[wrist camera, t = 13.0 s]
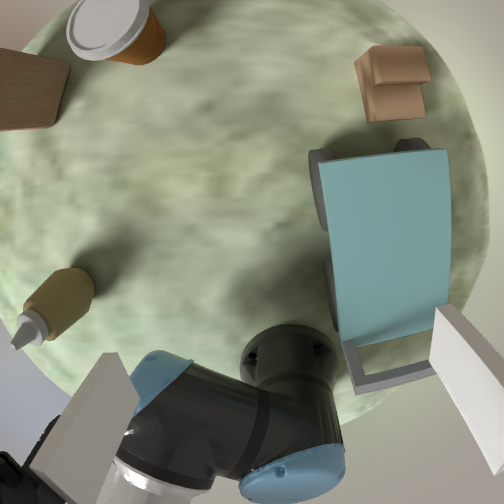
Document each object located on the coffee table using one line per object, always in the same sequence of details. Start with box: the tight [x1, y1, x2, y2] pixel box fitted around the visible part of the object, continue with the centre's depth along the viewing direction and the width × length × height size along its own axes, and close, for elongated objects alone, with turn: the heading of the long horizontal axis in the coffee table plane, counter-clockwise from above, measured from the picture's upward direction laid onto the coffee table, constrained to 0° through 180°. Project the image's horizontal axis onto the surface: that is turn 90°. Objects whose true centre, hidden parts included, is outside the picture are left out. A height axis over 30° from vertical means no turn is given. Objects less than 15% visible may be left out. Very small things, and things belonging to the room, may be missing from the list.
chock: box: [354, 46, 431, 123], centre depth 29 cm, size 8×6×8 cm
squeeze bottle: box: [10, 267, 95, 350], centre depth 36 cm, size 8×8×18 cm
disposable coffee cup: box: [66, 0, 166, 65], centre depth 26 cm, size 10×10×12 cm
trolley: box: [308, 138, 451, 395], centre depth 30 cm, size 22×13×18 cm, turn 12°
